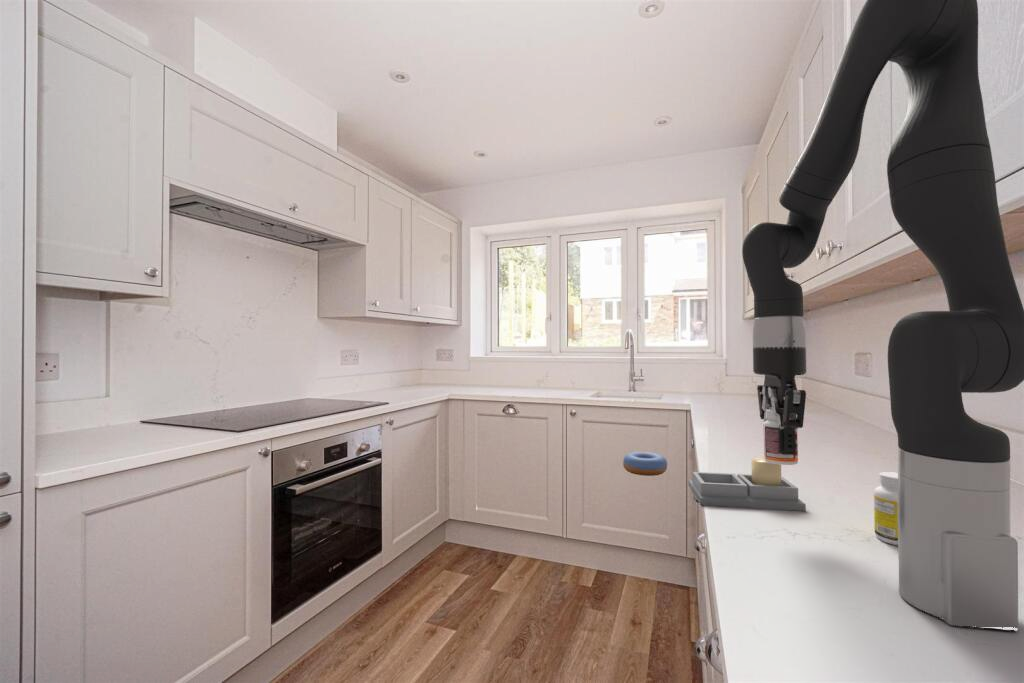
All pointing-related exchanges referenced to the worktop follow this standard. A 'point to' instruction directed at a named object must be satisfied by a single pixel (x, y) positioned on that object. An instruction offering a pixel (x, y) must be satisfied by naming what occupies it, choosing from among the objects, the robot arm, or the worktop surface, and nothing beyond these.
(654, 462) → the doughnut
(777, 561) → the worktop surface
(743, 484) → the grey compartment tray
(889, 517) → the supplement bottle
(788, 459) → the pill bottle
